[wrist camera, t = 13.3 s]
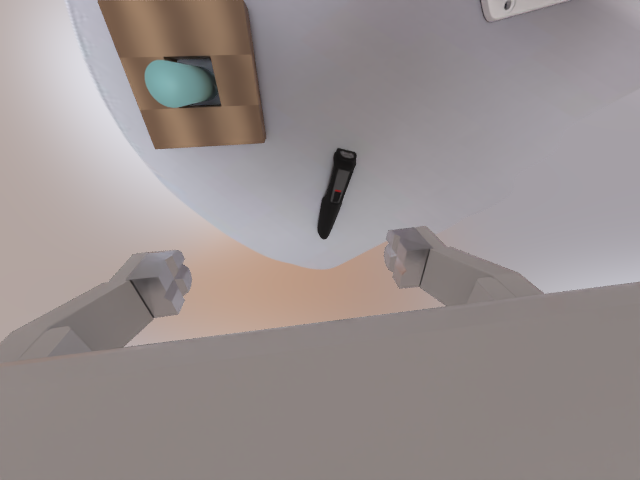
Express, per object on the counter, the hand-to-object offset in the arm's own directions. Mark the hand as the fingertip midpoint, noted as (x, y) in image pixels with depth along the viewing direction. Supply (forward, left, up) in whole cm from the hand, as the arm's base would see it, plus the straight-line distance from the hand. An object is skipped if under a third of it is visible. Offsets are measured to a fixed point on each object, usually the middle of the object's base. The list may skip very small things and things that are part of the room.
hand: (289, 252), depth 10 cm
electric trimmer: (-7, +11, -32) cm, 34 cm away
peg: (+10, -6, -31) cm, 33 cm away
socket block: (+10, -6, -31) cm, 33 cm away
